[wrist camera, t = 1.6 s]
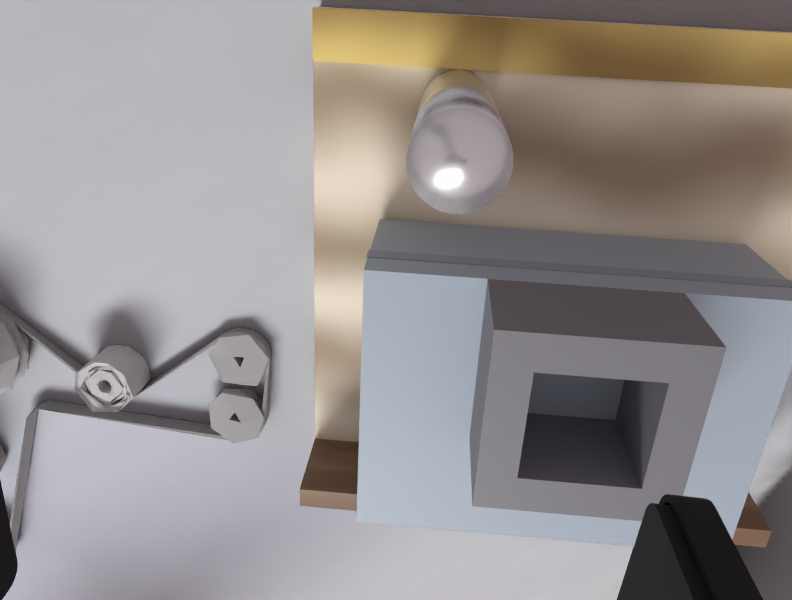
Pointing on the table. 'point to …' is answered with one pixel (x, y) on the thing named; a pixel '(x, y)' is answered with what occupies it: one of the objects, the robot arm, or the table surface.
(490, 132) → the handle peg
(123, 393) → the pulley system
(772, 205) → the bay
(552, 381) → the square socket plate
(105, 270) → the table surface
